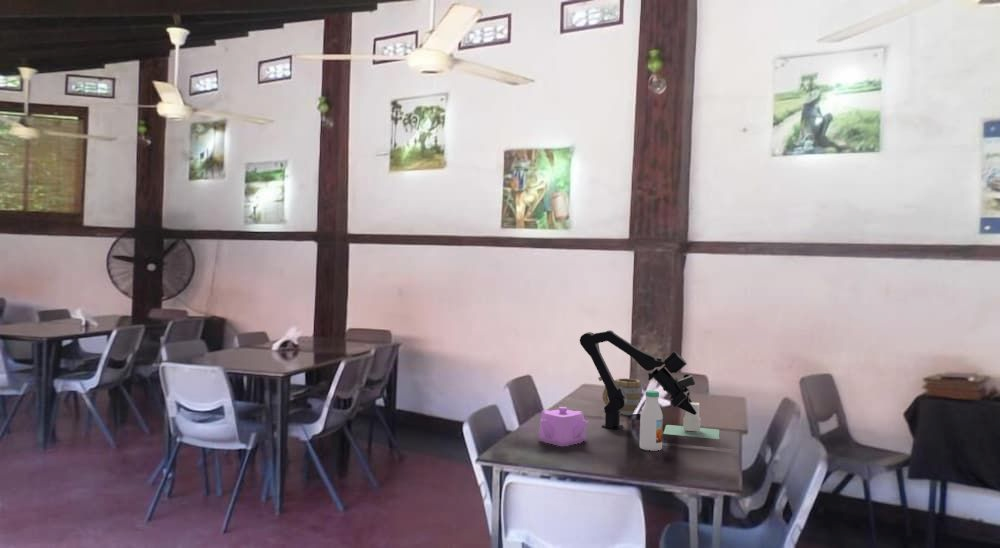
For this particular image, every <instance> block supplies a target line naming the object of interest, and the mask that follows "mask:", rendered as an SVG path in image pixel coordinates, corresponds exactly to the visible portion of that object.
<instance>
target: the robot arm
mask: <svg viewBox="0 0 1000 548" xmlns="http://www.w3.org/2000/svg"><path fill="white" fill-rule="evenodd" d="M605 342H608V343H610V344H612V345H613V346H615V347H616V348H618V349H620V351H622V352H624V353H625V354H627V355H628V356H630V357H631V358H633V360H635V362H636V363H637V364H638V365H639V366H640V367H641V368H642V369H643V370H645V371H648V375H647V376H648V381H651V380H653V379H654V380H655V381H656V382H657V383H658V384H659V386H660V387H662V391H664V392H666V393H667V394H668V395H669V396H670V399H671V400H670V402H671V403H670V404H671V405H672V406H673V408H678V409H681V410H684V411H687V412H689V413H692V414H694V415H695V414H696V411H695V410H694V408H693V407H692V405H691V404H690V402H693V401H692V399H691V395H690V394H691V391H690V388H689V387H690V386H691V387H692V386H695V385H696V380H695V378H694V376H693V375H692V374H691V375H690V374H689V373H685V374H683V377H682V378H681V379H678V378H677V377H674V376H673V375H672V374H677V373H678V372H679V371H681V370H682V369H683V368H684V367H685V366H686V365H688V363H687V362H686V360H685V359H684V358H683V357H682V356H681V355H679V354H678V353H677V352H676V351H675V350H674V351H671V354H669V356H667V357H666V358H665V359H663V358H659V357H656V356H655V355H654V354H652V353H650V352H648V351H645V350H643V349H639V348H638V347H637V346H635V345H633V344H631V343H630V342H629V341H628V340H626V339H624V338H622V337H621V336H619V335H618V334H616V333H615V332H614V331H613V330H607V331H602V332H601V331H600V332H595V333H594V332H590V331H587V332H585V333H583V334H582V335H581V336H580V337H579V344H580V345H581V347H582V348H583V349H584V351H585V353H586V354H588V356H589V357H590V358H591V360H592V362H593V364H594V366H595V368H596V370H597V373H598V375H599V377H601V379H602V381H601V382H602V383H603V384H604V388H605V387H606V389H607V394H608V400H609V403H608V404H607V405H605V406H604V408H603V410H604V413H605V421H604V423H605V424H602V425H601V428H606V429H612V430H619V429H621V428H623V427H624V425H623V424H621V414H620V411H619V410H620V409H621V408H623V406H624V405H625V404H626V401H627V398H626V396H627V394H626V393H625V392H624V389H623V386H621V387H620V388H619V387H618V386H617V385H616V383H615V381H614V380H615V379H614V377H613V376H612V374H611V371H610V369H609V367H608V365H607V363H606V361H605V359H604V357H603V355H602V353H601V351H600V343H605ZM655 368H656V369H655ZM649 371H652V372H649Z"/></svg>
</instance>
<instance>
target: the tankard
mask: <svg viewBox="0 0 1000 548" xmlns="http://www.w3.org/2000/svg"><path fill="white" fill-rule="evenodd" d="M598 381H599V382H603V381H602V379H601V377H600V376H599V377H598ZM614 381H615V383H616V385H617V386H618V387H619V388H620V387H621V386H623V389H624V392H625V393H626V394H627V396H626V398H627V401H626V404H625V405H624V406H623V408H621V409H620V410H619V411H620V415H621V414H623V416H632V415H631V414H632V413H633V412H634V410H635V408H636V407H637V405H638V403H639V402H640V400H641V398H642V397H641V393H643V387H642V382H641V380H639V379H636V378H625V377H624V378H617V379H614ZM602 401H603V403H604V405H605V406H606V405H607V404H608V403H609V399H608V394H607V389H606V387H605V386H604V388H603V392H602Z"/></svg>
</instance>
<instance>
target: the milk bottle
mask: <svg viewBox="0 0 1000 548" xmlns="http://www.w3.org/2000/svg"><path fill="white" fill-rule="evenodd" d="M659 396H660V392H659V391H657V390H646V391H645V402H644V405H643V407H642V411H641V414H640V417H639V419H640V421H639V422H640V423H639V448H640V449H641V450H644V451H649V450H650V451H651V452H656V451H658V450H659V451H661V450H662V449H663V432H664V431H663V429H664V427H663V426H664V420H663V419H664V416H663V411H662V409H661V408H662V407H661V406H660V403H659V399H660V397H659Z"/></svg>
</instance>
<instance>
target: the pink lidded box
mask: <svg viewBox="0 0 1000 548" xmlns="http://www.w3.org/2000/svg"><path fill="white" fill-rule="evenodd" d="M539 422H540V424H539V427H538V428H539V429H538V439H539V441H540V440H542V441H545V442H548V443H552V444H556V445H559V446H566V445H572V444H576V443H579V444H581V443H580V442H582V443H584V442H585V440H586V436H587V435H586V434H587V433H586V430H587V429H586V428H587V426H588V425H589V421H588V420H586V419H585V417H584V412H583V411H582V410H581V411H580V410H575V411H574V410H571V409H568V407H567V406H559V407H558V409H553V410H547V409H545V410H541V413H540V420H539ZM583 441H584V442H583ZM576 445H577V444H576ZM572 446H573V445H572Z"/></svg>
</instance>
